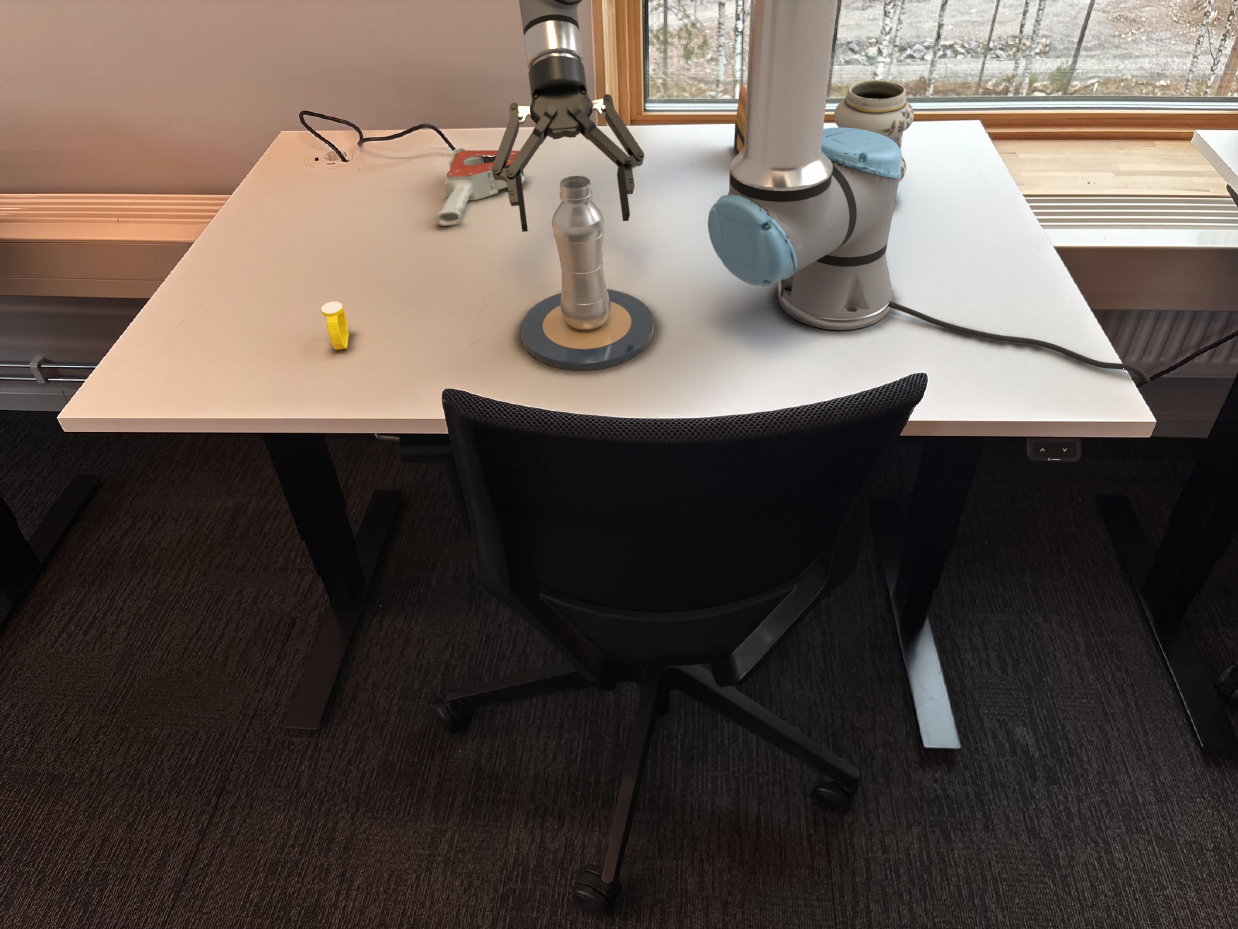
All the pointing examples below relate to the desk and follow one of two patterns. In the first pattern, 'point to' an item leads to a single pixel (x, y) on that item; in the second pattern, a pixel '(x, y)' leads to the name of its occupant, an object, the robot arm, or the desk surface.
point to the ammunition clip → (740, 121)
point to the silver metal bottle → (581, 255)
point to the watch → (336, 324)
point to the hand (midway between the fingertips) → (575, 223)
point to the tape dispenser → (469, 182)
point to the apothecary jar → (876, 110)
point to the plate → (587, 334)
